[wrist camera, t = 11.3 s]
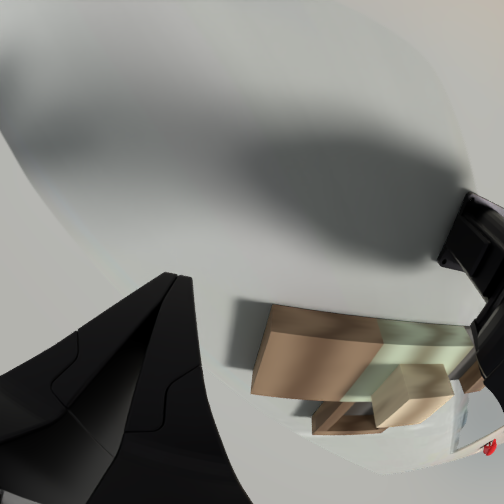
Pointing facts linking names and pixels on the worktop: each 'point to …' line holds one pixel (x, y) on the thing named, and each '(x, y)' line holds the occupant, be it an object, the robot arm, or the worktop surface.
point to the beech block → (411, 394)
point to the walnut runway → (352, 362)
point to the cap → (490, 448)
